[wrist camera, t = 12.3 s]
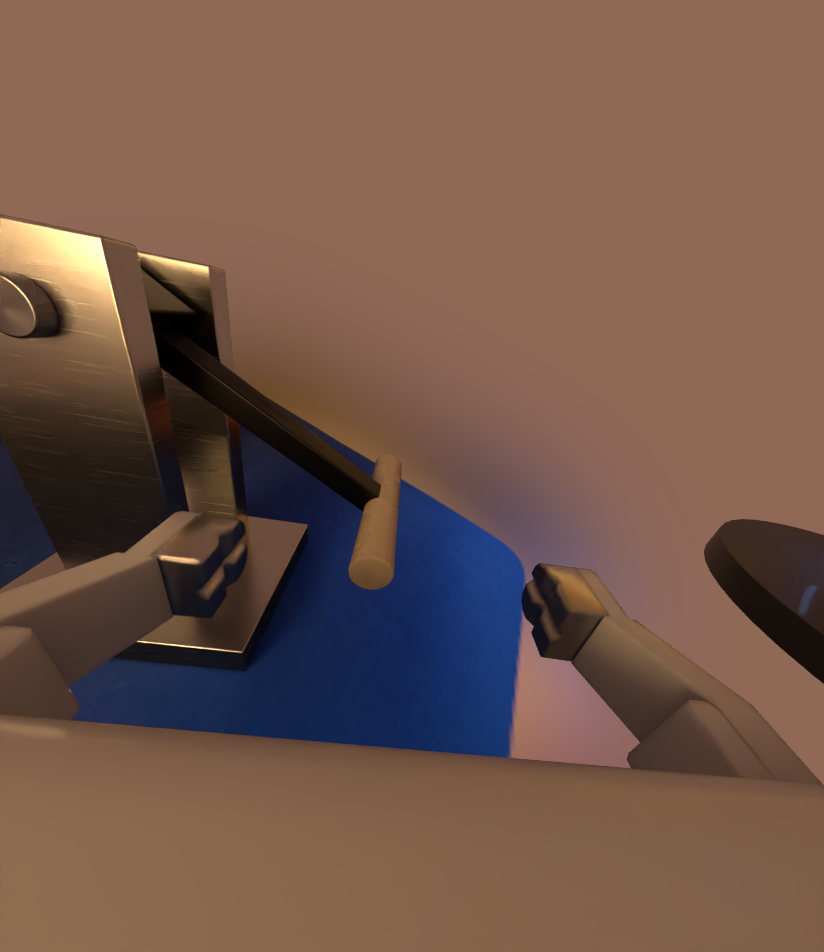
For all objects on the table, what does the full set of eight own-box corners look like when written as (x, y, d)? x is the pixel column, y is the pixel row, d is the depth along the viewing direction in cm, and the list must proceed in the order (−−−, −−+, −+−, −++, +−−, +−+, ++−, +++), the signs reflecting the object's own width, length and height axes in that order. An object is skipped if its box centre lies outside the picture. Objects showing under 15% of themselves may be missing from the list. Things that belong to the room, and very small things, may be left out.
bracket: (307, 540, 19) (313, 289, 13) (245, 672, 12) (187, 248, 6) (141, 517, 18) (59, 236, 12) (-34, 644, 11) (-476, 108, 5)
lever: (384, 487, 17) (412, 458, 16) (365, 604, 10) (413, 565, 9) (154, 311, 13) (177, 262, 12) (-155, 299, 6) (-151, 179, 5)
